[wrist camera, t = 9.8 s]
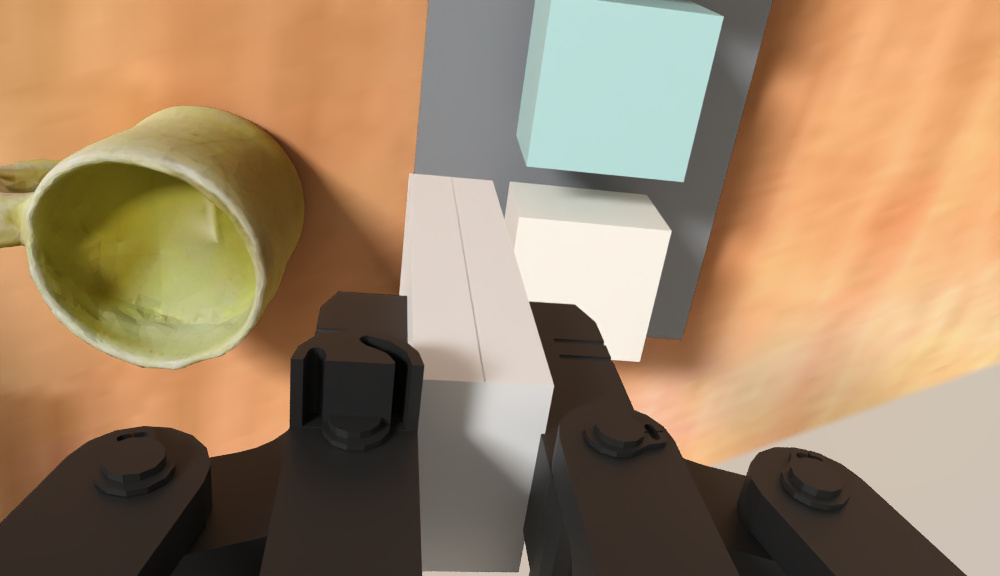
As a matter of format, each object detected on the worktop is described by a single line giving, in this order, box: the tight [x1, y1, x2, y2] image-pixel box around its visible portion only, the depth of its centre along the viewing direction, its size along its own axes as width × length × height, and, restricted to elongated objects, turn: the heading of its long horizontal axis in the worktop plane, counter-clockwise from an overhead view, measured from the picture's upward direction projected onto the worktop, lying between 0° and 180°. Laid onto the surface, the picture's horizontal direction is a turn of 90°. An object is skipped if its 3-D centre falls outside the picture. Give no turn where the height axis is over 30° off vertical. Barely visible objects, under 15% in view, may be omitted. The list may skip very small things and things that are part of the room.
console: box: [414, 0, 773, 340], centre depth 33 cm, size 14×26×5 cm, turn 173°
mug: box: [0, 106, 305, 369], centre depth 33 cm, size 12×10×10 cm
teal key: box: [516, 0, 724, 182], centre depth 30 cm, size 6×6×4 cm
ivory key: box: [504, 182, 672, 362], centre depth 33 cm, size 6×6×4 cm
